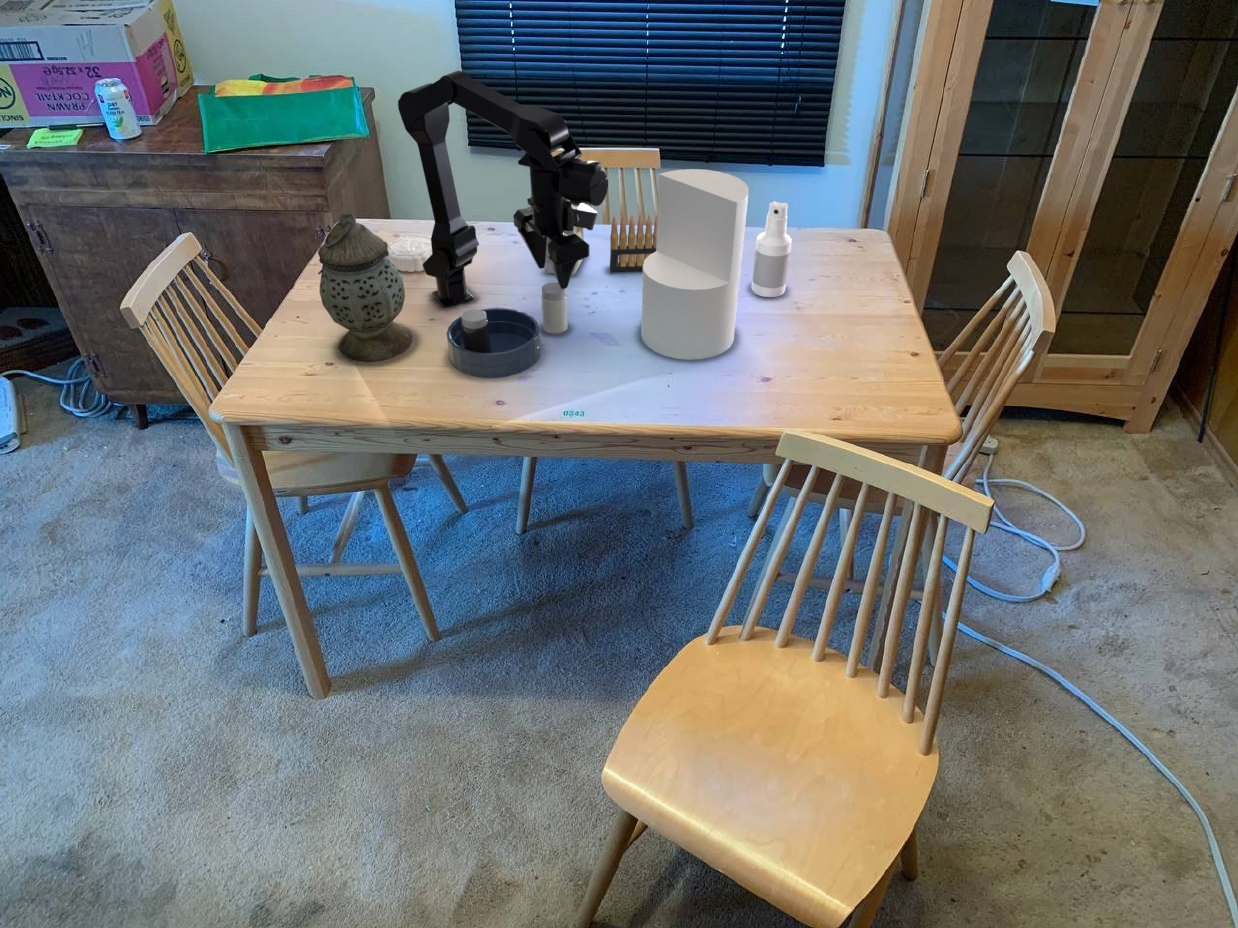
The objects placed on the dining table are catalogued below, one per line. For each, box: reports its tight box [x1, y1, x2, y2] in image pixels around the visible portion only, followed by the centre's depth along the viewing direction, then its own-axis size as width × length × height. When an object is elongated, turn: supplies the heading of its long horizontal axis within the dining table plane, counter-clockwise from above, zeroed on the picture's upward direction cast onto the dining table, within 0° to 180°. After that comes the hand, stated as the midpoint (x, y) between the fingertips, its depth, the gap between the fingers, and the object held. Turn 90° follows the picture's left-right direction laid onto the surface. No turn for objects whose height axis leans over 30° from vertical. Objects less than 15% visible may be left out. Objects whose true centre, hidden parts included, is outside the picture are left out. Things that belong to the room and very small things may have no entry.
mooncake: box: [386, 234, 432, 273], centre depth 181 cm, size 12×12×4 cm
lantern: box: [317, 211, 415, 363], centre depth 147 cm, size 14×14×25 cm
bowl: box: [446, 307, 542, 378], centre depth 151 cm, size 16×16×5 cm
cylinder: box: [640, 168, 750, 361], centre depth 149 cm, size 17×17×28 cm
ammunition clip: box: [609, 214, 657, 274], centre depth 175 cm, size 11×2×12 cm, turn 94°
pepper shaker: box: [460, 308, 491, 353], centre depth 149 cm, size 5×5×8 cm
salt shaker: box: [540, 282, 569, 334], centre depth 157 cm, size 5×5×8 cm
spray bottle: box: [750, 200, 793, 298], centre depth 166 cm, size 7×7×18 cm
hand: (552, 278), depth 153 cm, fingers open, 9 cm apart
